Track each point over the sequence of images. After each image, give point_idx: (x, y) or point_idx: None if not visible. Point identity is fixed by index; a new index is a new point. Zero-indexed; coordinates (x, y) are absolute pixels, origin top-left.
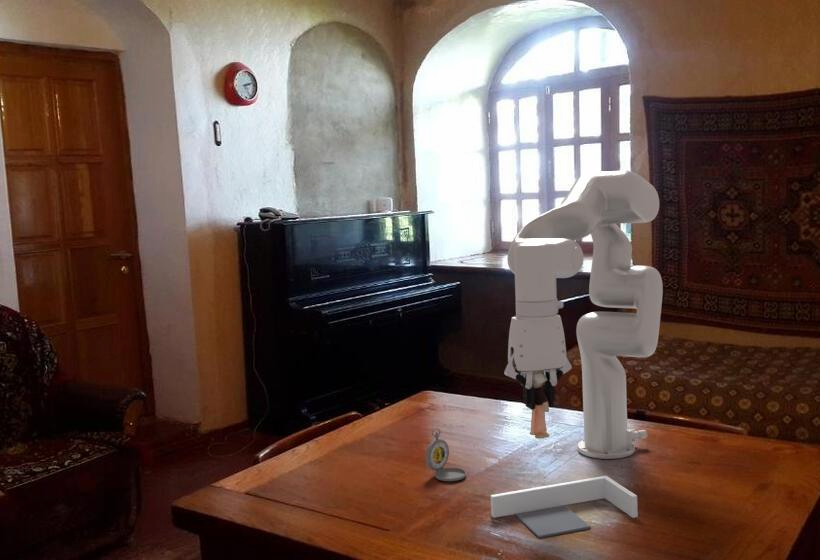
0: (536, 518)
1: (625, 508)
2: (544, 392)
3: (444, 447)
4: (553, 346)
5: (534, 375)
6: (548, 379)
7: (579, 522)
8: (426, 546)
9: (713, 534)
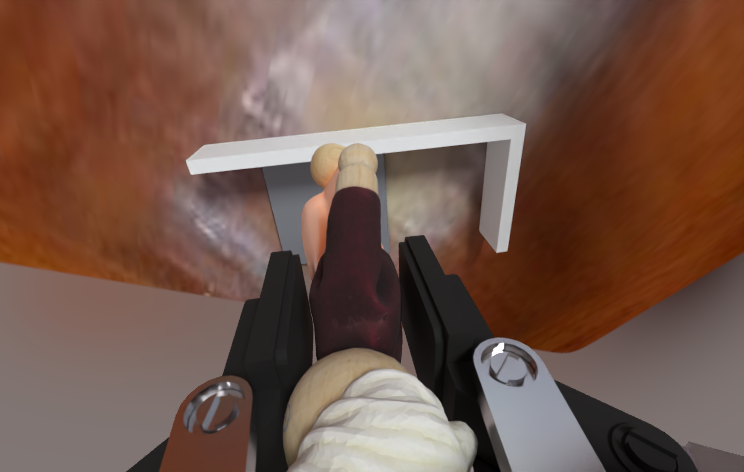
0: (302, 198)
1: (484, 212)
2: (417, 315)
3: None
4: None
5: None
6: (483, 432)
7: None
8: (56, 248)
9: (543, 304)
